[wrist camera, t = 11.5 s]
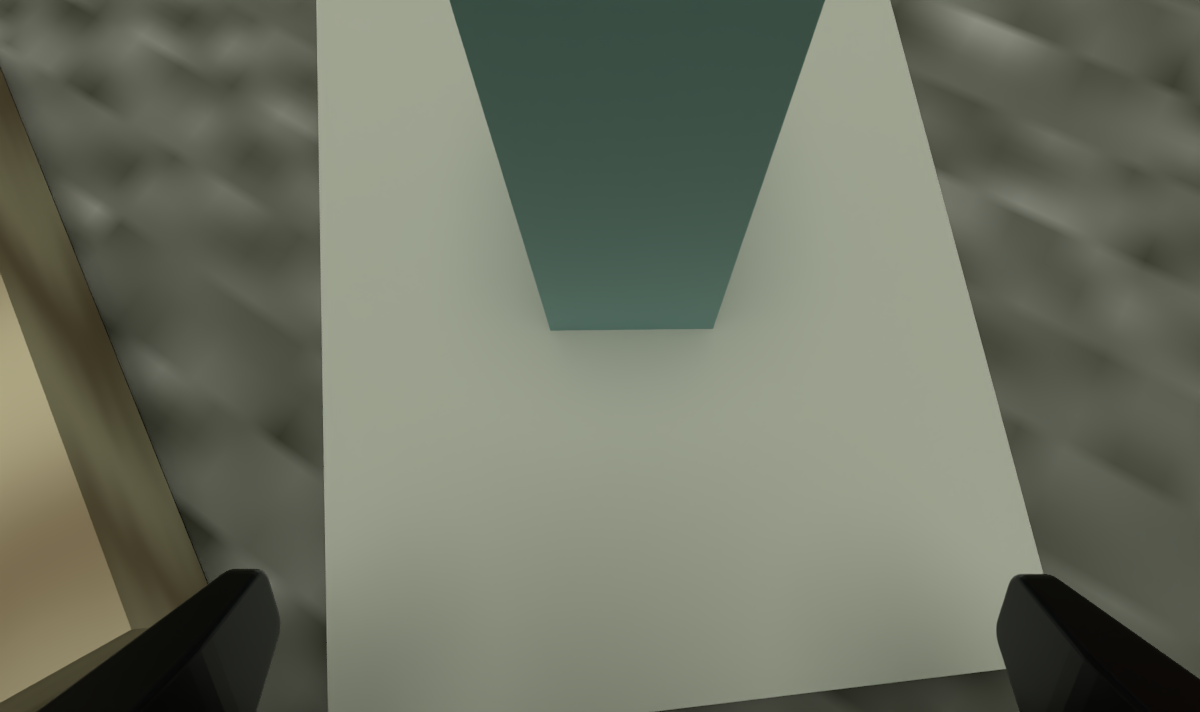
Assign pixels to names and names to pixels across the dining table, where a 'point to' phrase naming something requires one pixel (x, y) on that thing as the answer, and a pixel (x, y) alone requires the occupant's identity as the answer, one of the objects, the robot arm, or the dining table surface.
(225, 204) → the dining table surface
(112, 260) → the dining table surface
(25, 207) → the plate
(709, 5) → the tall teal block
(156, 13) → the dining table surface
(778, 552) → the mat
